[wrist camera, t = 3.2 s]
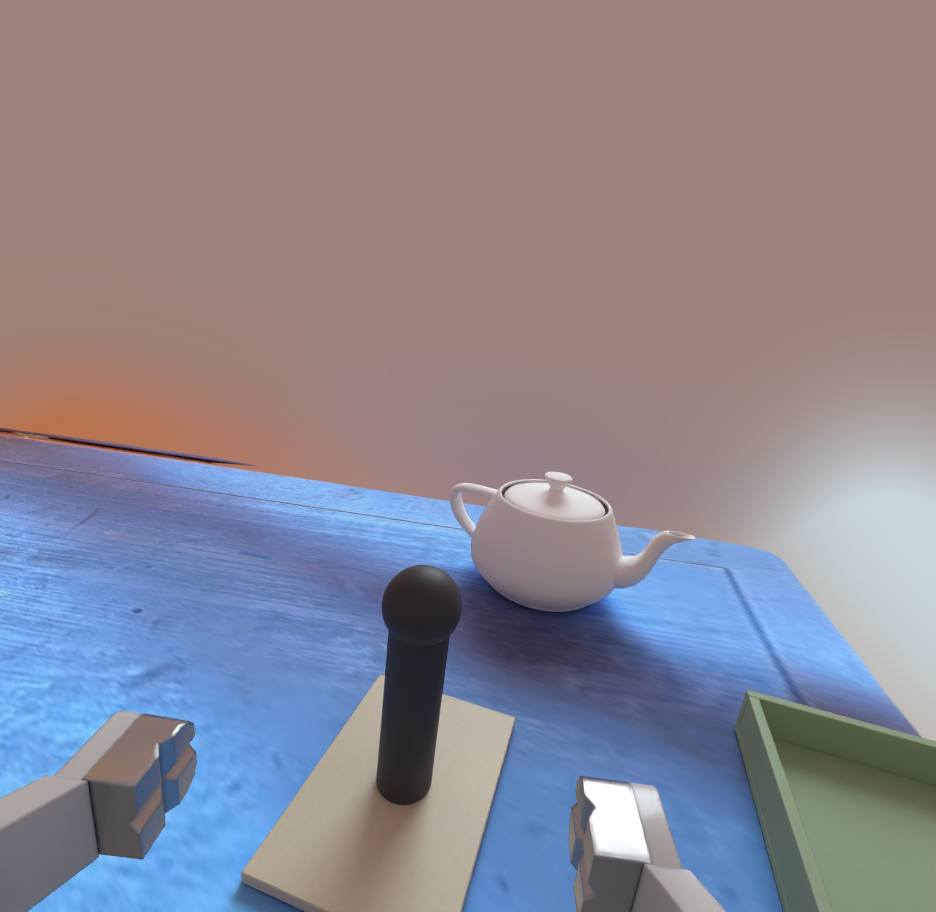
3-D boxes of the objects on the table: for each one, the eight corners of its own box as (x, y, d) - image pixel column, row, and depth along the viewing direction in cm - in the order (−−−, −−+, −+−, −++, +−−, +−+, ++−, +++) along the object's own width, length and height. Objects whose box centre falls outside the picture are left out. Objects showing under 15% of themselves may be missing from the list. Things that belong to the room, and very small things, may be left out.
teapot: (406, 576, 46) (417, 463, 43) (475, 528, 58) (487, 436, 55) (659, 677, 37) (695, 541, 34) (680, 594, 49) (708, 488, 46)
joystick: (443, 976, 19) (486, 701, 16) (240, 883, 21) (237, 622, 18) (514, 724, 31) (547, 536, 28) (379, 681, 34) (394, 501, 30)
